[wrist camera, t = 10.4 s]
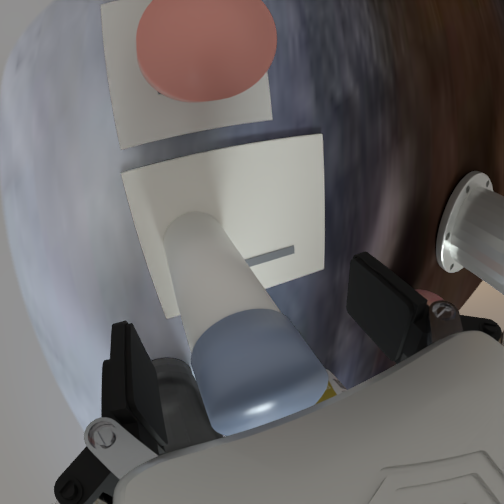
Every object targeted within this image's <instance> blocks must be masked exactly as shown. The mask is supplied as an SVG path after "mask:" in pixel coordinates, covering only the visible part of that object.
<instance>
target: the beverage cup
mask: <svg viewBox="0 0 504 504" xmlns="http://www.w3.org/2000/svg"><path fill="white" fill-rule="evenodd" d="M151 362H152V363H153V365H154V367H155V370H156V373H157V379H158V386H159V393H160V400H161V406H162V412H163V418H164V423H165V429H166V434H167V439H168V445H164V447H165V452H166V453H169V452H172V451H176V450H179V449H183V448H186V447H190V446H193V445H197V444H201V443H205V442H209V441H212V440H216V439H219V438H223V436H222V434H220V433H218V432H216V431H215V430H214V429H213V428H212V426H211V423H210V420H209V418H208V415H207V412H206V409H205V406H204V403H203V400H202V397H201V394H200V390H199V387H198V384H197V381H196V380H195V378H194V376H193V375H192V371H191V369H190V367H189V366H188V365H187V364H186V363H184V362H183V361H181V360H178V359H174V358H161V359H156V360H153V361H151ZM166 453H162V454H159V456H160V455H163V454H166Z"/></svg>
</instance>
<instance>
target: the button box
mask: <svg viewBox="0 0 504 504" xmlns="http://www.w3.org/2000/svg"><path fill="white" fill-rule="evenodd" d="M151 2H152V0H118V1H113V2H109V3H106V4H102V5H101V20H102V32H103V43H104V52H105V61H106V69H107V76H108V83H109V90H110V96H111V102H112V108H113V114H114V119H115V125H116V130H117V135H118V140H119V145H120V149H121V150H123V149H127V148H130V147H134V146H138V145H142V144H145V143H149V142H153V141H157V140H161V139H166V138H170V137H174V136H179V135H184V134H188V133H193V132H198V131H203V130H209V129H214V128H220V127H225V126H232V125H238V124H244V123H251V122H259V121H266V120H273V119H272V109H271V99H270V90H269V81H268V72H266V73H265V74H264V76H263V77H262V78H261V79H260V80H259V81H258V82H257V83H256V84H254V85H253V86H252V87H250V88H249V89H247V90H246V91H244V92H242V93H240V94H238V95H235V96H232V97H229V98H226V99H221V100H214V101H206V102H197V103H195V102H182V101H178V100H174V99H171V98H169V97H166V96H165V95H163V94H159V95H158V91H157V90H155V89H154V88H153V87H152V86H151V85H150V84H149V83H148V82H147V81H146V79H145V78H144V76H143V75H142V73H141V71H140V68H139V65H138V61H137V51H136V34H137V28H138V24H139V21H140V19H141V17H142V14H143V13H144V11H145V9H146V8H147V6H148V5H149V4H150V3H151Z"/></svg>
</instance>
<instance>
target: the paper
mask: <svg viewBox="0 0 504 504" xmlns="http://www.w3.org/2000/svg"><path fill="white" fill-rule="evenodd" d="M121 176H122V180H123V184H124V188H125V192H126V196H127V200H128V203H129V207H130V211H131V214H132V218H133V221H134V225H135V228H136V231H137V235H138V238H139V241H140V245H141V248H142V251H143V254H144V257H145V260H146V263H147V266H148V269H149V272H150V275H151V278H152V281H153V284H154V287H155V290H156V292H157V295H158V298H159V301H160V303H161V306H162V309H163V311H164V314H165V317H166V319H169V318H173V317H176V316H180V312H179V308H178V304H177V300H176V296H175V292H174V288H173V284H172V280H171V276H170V272H169V267H168V263H167V258H166V254H165V249H164V243H163V241H164V234H165V232H166V229H167V228H168V226H169V225H170V223H171V222H172V221H173V220H174V219H176V218H177V217H179V216H180V215H182V214H185V213H188V212H204V213H207V214H209V215H211V216H213V217H214V218H215V219H216V220H217V221H218V222H219V224H220V225H221V226H222V228H223V229H224V231H225V232H226V234H227V235H228V237H229V238H230V240H231V241H232V242H233V244H234V245H235V247H236V248H237V250H238V251H239V253H240V254H241V255H242V257H243V258H244V260H245V261H246V263H247V264H248V266H249V267H250V268H251V270H252V271H253V273H254V274H255V276H256V277H257V279H258V280H259V281H260V283H261V284H262V286H263V287H264V289H266V288H269V287H272V286H275V285H278V284H281V283H284V282H287V281H290V280H293V279H296V278H299V277H302V276H305V275H308V274H311V273H314V272H317V271H320V270H322V269H324V252H325V193H324V158H323V137H322V134H311V135H302V136H294V137H287V138H279V139H272V140H266V141H259V142H253V143H247V144H241V145H236V146H230V147H225V148H220V149H215V150H210V151H205V152H200V153H196V154H191V155H187V156H182V157H178V158H174V159H170V160H166V161H162V162H158V163H154V164H150V165H146V166H142V167H139V168H135V169H132V170H128V171H125V172H121Z"/></svg>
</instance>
